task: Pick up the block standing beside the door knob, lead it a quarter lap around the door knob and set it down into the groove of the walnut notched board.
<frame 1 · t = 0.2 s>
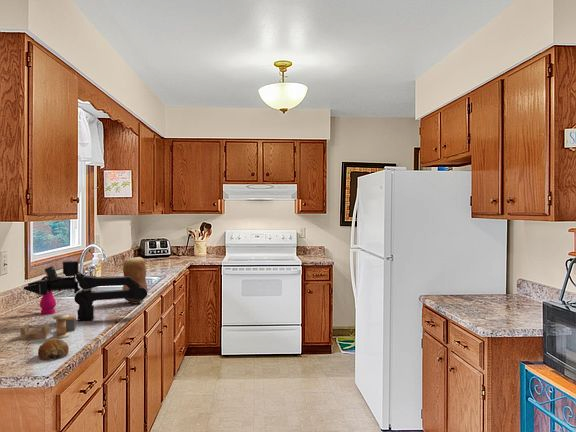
hand: (25, 286, 231), 17 cm above the counter, tool horizontal, fingers open, 9 cm apart
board: (36, 335, 209), on the counter
pepper mill: (48, 313, 251), on the counter
block: (70, 329, 219), on the counter
door knob: (61, 336, 208), on the counter
bread roll: (53, 357, 181), on the counter
butternut squash: (135, 303, 278), on the counter
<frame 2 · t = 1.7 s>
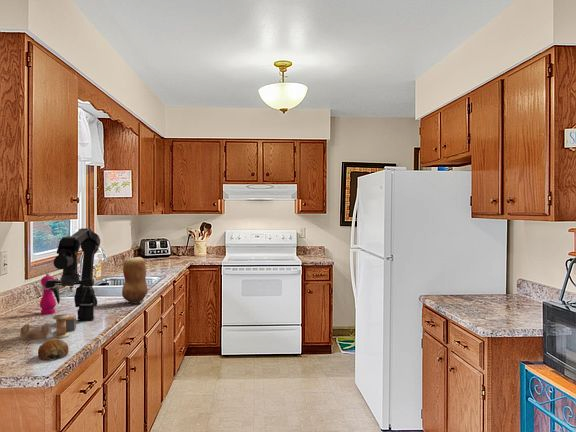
hand: (70, 302, 218), 11 cm above the counter, tool pointing down, fingers open, 9 cm apart
nothing on the counter moved.
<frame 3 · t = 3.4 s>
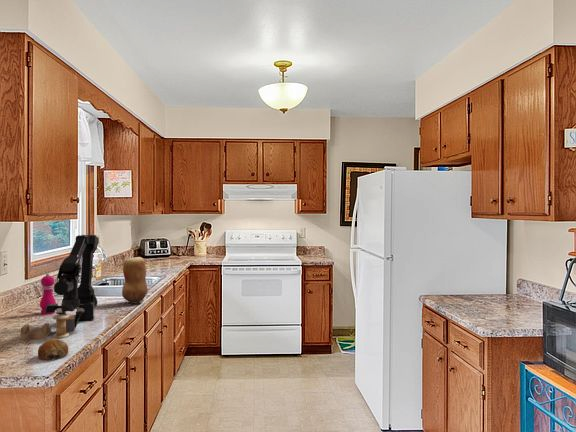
hand: (70, 327, 219), 1 cm above the counter, tool pointing down, fingers closed on block, 3 cm apart
block: (70, 329, 219), on the counter, touching gripper
everything else where it was.
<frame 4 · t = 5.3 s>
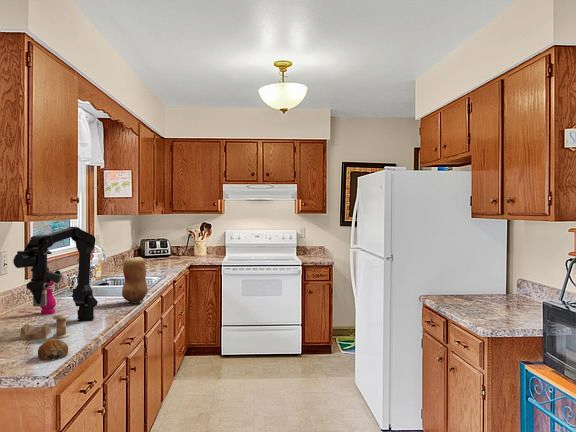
hand: (39, 303, 214), 12 cm above the counter, tool pointing down, fingers closed on block, 3 cm apart
block: (39, 305, 214), point 11 cm above the counter, touching gripper
everything else where it was.
when the fingers open (4 cm above the counter, at t = 7.5 s): block drops 1 cm, resting on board.
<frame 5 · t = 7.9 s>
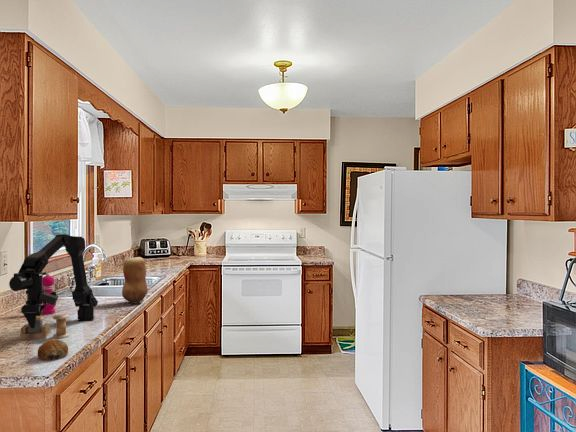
hand: (35, 325, 207), 4 cm above the counter, tool pointing down, fingers open, 8 cm apart
block: (35, 331, 207), point 2 cm above the counter, touching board
everything else where it was.
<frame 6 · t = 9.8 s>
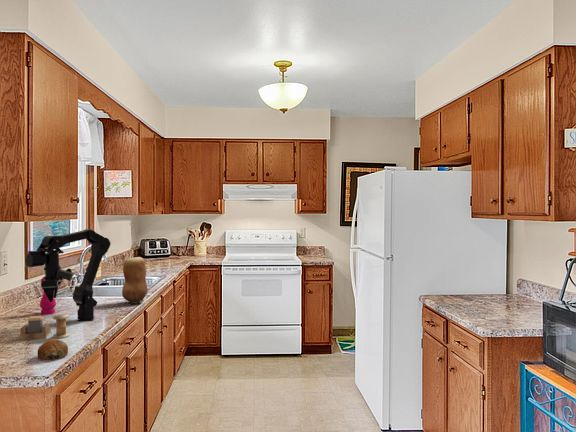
hand: (53, 299, 224), 12 cm above the counter, tool pointing down, fingers open, 9 cm apart
nothing on the counter moved.
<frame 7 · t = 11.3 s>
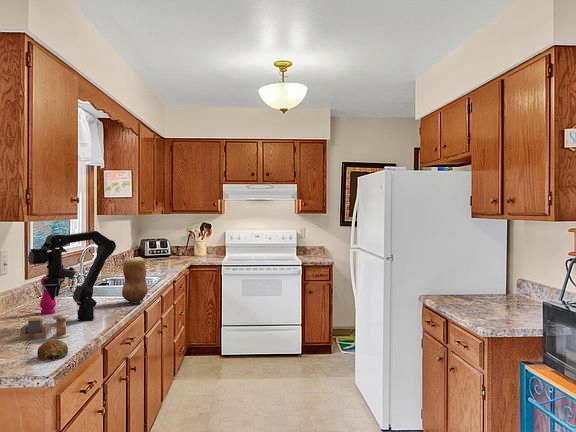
hand: (55, 298, 227), 12 cm above the counter, tool pointing down, fingers open, 9 cm apart
nothing on the counter moved.
at the end: block inside the target area on the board (1.9 cm from its centre), point 2.0 cm above the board's base; block tilted 0° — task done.
